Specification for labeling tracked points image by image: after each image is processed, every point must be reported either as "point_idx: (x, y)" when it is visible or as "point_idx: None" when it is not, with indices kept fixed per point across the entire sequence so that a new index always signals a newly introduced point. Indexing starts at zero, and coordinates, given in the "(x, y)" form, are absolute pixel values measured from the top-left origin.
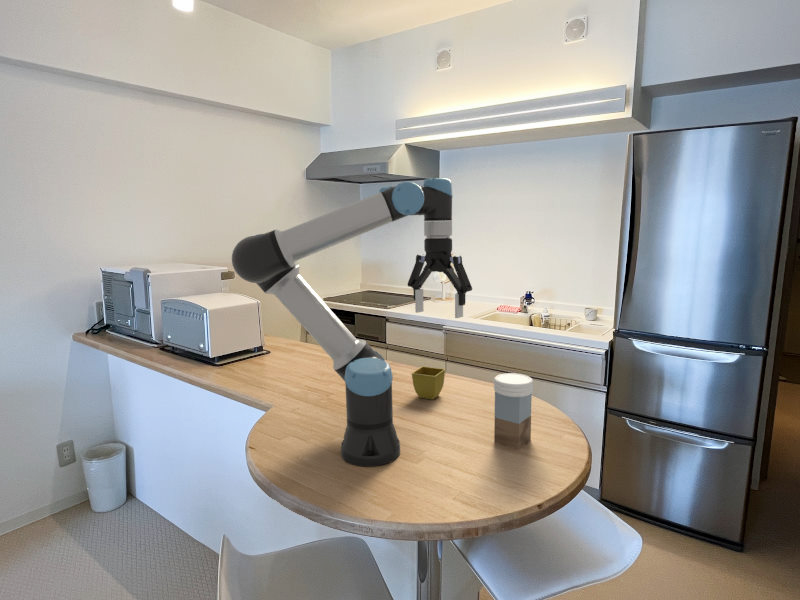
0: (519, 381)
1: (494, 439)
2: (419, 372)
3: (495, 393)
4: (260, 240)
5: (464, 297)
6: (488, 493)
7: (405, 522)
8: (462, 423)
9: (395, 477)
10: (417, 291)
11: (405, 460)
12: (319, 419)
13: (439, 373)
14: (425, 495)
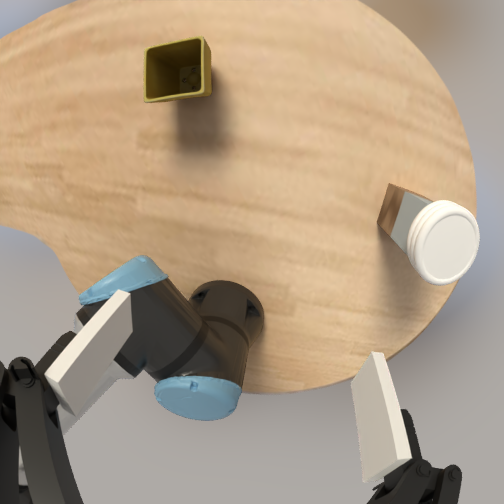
0: (459, 260)
1: (378, 223)
2: (150, 68)
3: (407, 255)
4: None
5: (412, 447)
6: (381, 335)
7: (319, 386)
8: (309, 171)
9: (282, 345)
10: (79, 409)
11: (276, 315)
12: (106, 255)
13: (203, 68)
14: (323, 358)
